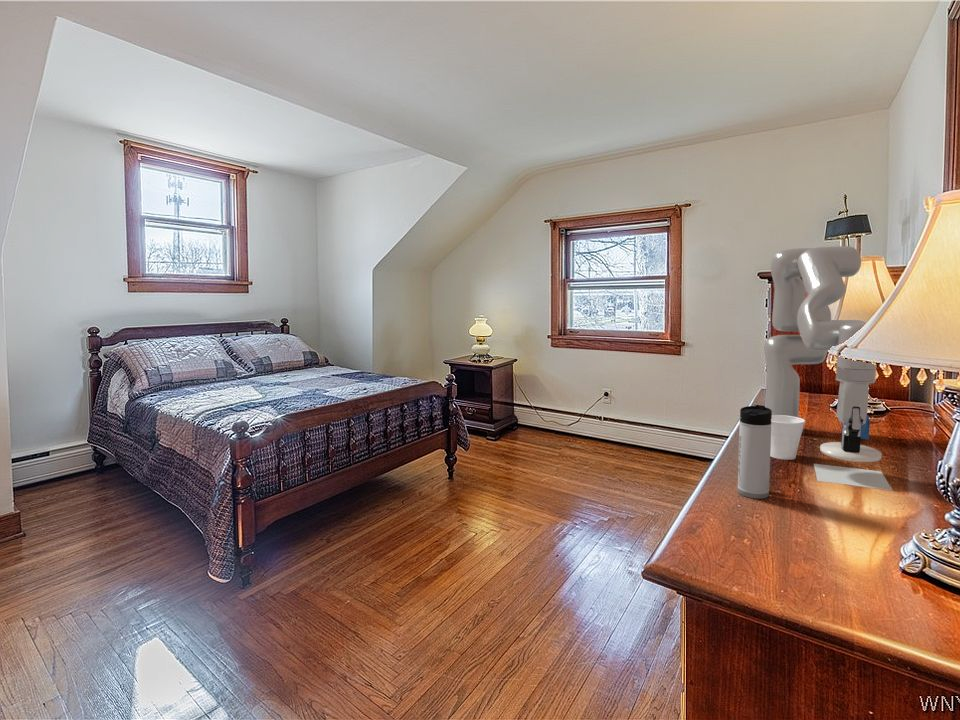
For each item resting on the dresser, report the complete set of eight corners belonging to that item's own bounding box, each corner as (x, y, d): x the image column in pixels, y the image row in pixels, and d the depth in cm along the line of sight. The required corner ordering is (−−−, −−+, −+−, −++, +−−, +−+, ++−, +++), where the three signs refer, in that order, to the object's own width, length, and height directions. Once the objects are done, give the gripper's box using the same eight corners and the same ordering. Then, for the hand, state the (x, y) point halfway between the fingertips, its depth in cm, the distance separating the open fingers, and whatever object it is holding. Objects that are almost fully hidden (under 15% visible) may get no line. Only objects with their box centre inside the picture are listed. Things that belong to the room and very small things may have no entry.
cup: (810, 464, 132) (812, 423, 130) (769, 462, 134) (770, 422, 132) (794, 453, 141) (796, 415, 140) (756, 451, 143) (757, 414, 142)
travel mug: (773, 492, 113) (776, 406, 111) (763, 501, 109) (767, 411, 106) (743, 486, 118) (746, 403, 115) (733, 494, 113) (735, 408, 111)
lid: (818, 443, 129) (819, 421, 128) (876, 449, 123) (878, 426, 122) (822, 457, 119) (823, 433, 118) (886, 465, 113) (888, 439, 112)
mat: (813, 465, 131) (813, 463, 130) (881, 473, 123) (881, 471, 123) (817, 482, 119) (817, 480, 118) (892, 492, 111) (892, 490, 111)
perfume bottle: (868, 439, 152) (871, 401, 151) (843, 437, 155) (845, 399, 154) (866, 434, 157) (868, 397, 156) (841, 432, 161) (843, 396, 159)
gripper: (832, 368, 127) (828, 438, 130) (840, 379, 113) (834, 457, 116) (869, 370, 123) (864, 441, 126) (881, 382, 109) (875, 462, 112)
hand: (850, 448), depth 121 cm, fingers closed on lid, 3 cm apart
